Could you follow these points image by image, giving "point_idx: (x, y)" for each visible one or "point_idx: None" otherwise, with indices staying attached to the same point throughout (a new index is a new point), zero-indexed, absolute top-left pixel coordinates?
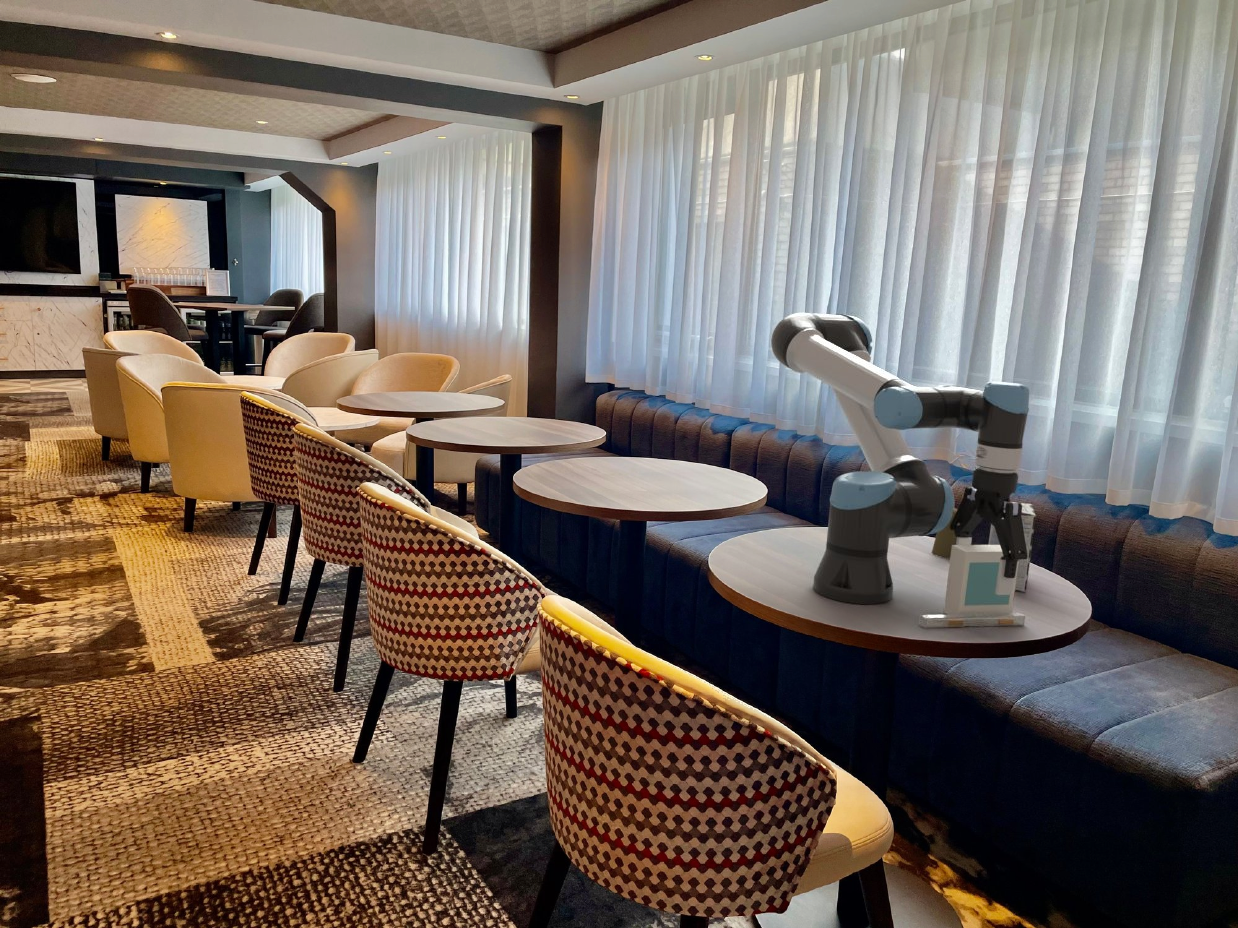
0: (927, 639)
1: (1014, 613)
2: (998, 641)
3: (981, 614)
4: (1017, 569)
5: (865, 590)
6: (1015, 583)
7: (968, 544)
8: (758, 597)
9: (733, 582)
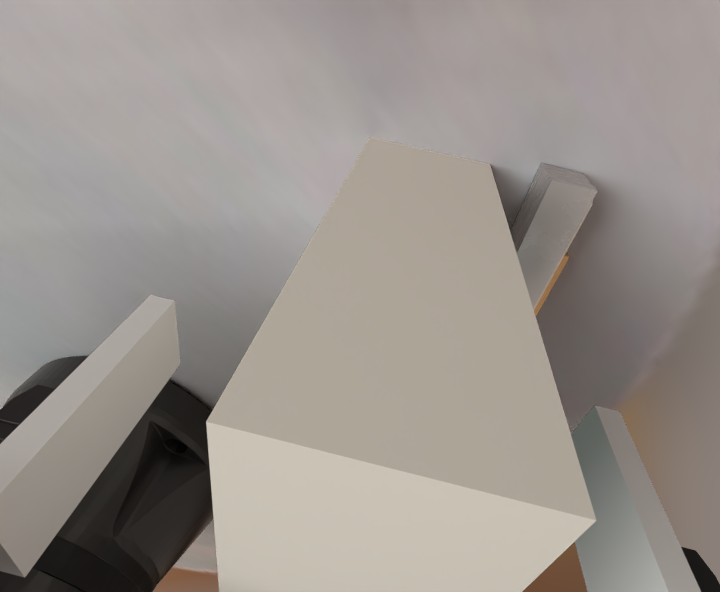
0: None
1: (539, 216)
2: (622, 401)
3: None
4: (537, 328)
5: None
6: (515, 255)
7: (45, 469)
8: (186, 561)
9: None
